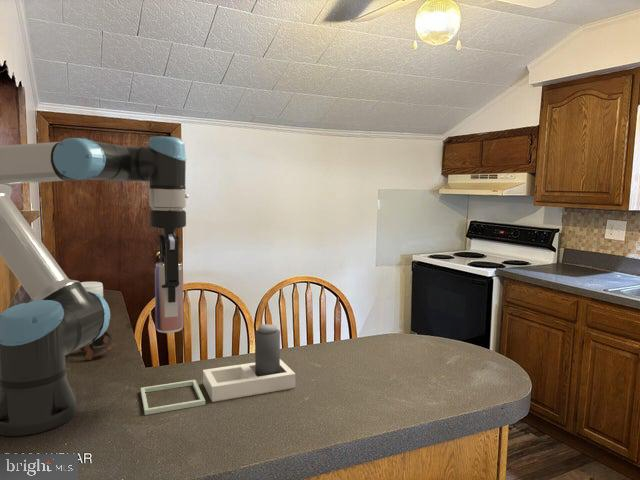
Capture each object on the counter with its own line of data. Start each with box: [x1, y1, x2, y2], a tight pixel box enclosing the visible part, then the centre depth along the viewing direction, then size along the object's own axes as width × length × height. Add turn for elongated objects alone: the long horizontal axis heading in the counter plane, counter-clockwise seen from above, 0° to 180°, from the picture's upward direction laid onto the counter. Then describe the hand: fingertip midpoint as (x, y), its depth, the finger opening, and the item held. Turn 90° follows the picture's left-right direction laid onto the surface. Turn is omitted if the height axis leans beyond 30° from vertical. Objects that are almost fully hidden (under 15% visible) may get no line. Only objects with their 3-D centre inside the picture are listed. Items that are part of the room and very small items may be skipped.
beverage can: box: [154, 261, 185, 334], centre depth 105 cm, size 6×6×15 cm
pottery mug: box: [78, 330, 116, 361], centre depth 135 cm, size 12×10×8 cm
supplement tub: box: [79, 281, 104, 298], centre depth 163 cm, size 10×10×15 cm
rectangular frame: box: [140, 379, 206, 416], centre depth 108 cm, size 13×13×1 cm
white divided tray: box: [202, 358, 296, 403], centre depth 115 cm, size 20×11×4 cm, turn 114°
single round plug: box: [254, 323, 281, 377], centre depth 116 cm, size 6×6×14 cm
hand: (169, 312), depth 106 cm, fingers closed on beverage can, 6 cm apart
